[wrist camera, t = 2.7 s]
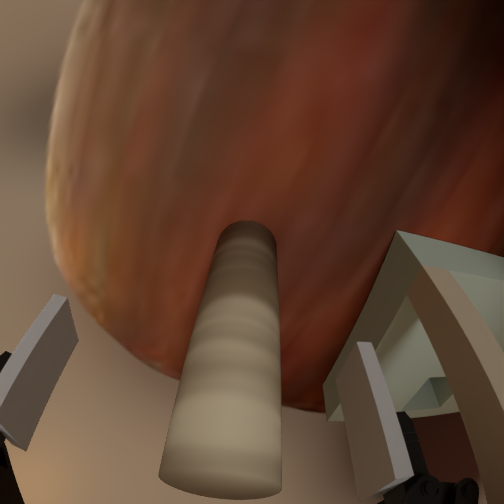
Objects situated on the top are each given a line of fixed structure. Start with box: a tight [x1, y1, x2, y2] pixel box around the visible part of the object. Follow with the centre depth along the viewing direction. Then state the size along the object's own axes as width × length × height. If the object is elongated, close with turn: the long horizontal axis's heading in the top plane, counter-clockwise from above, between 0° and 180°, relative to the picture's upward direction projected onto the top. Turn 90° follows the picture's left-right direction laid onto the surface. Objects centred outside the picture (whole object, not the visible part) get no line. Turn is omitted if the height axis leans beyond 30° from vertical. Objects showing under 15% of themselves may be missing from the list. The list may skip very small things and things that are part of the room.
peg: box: [159, 221, 282, 500], centre depth 13 cm, size 4×4×14 cm
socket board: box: [323, 230, 504, 421], centre depth 21 cm, size 16×18×4 cm
